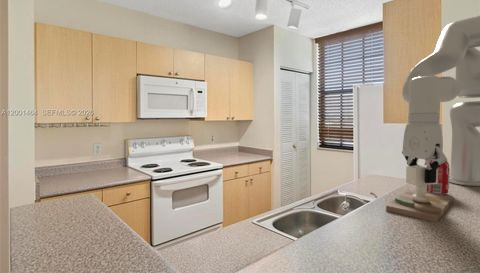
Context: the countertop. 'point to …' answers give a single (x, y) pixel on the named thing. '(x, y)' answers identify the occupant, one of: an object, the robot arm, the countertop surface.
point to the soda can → (440, 181)
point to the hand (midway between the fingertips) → (421, 179)
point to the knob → (420, 183)
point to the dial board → (420, 206)
